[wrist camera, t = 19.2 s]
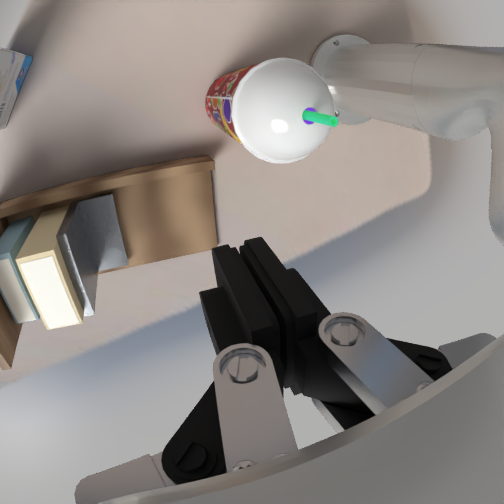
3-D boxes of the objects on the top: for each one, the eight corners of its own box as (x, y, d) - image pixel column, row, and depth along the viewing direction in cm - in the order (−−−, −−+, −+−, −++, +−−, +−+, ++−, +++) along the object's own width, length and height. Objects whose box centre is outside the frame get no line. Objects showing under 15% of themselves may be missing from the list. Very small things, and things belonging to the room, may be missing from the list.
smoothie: (194, 137, 34) (261, 190, 18) (197, 65, 30) (273, 40, 14) (263, 137, 37) (375, 188, 20) (269, 70, 33) (392, 69, 16)
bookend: (112, 192, 32) (107, 223, 25) (128, 261, 37) (131, 306, 30) (71, 201, 31) (55, 236, 24) (91, 269, 36) (85, 316, 28)
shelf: (208, 155, 35) (252, 194, 23) (216, 246, 41) (256, 317, 30) (-4, 204, 28) (-58, 267, 16) (26, 287, 34) (1, 370, 22)
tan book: (72, 204, 32) (53, 250, 23) (89, 264, 36) (82, 323, 27) (42, 212, 30) (15, 259, 21) (61, 271, 34) (47, 330, 25)
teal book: (32, 215, 30) (9, 252, 23) (52, 273, 34) (39, 320, 27) (11, 221, 29) (-15, 259, 22) (32, 278, 33) (16, 324, 26)
